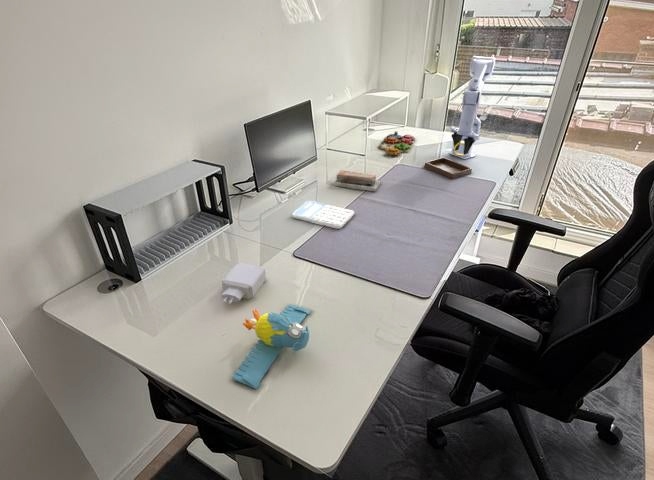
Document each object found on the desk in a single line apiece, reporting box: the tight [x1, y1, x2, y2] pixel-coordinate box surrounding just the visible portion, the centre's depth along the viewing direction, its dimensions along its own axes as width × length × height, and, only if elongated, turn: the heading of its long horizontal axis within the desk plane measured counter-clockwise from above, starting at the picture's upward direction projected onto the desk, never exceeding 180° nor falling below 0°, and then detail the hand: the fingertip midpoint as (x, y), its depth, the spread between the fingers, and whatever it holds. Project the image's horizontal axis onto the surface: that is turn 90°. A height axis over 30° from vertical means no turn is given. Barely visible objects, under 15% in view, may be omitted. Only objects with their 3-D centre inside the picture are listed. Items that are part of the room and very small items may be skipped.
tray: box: [424, 156, 473, 180], centre depth 192 cm, size 17×12×2 cm
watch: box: [454, 141, 466, 156], centre depth 186 cm, size 6×3×6 cm, turn 76°
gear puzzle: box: [378, 130, 416, 156], centre depth 217 cm, size 31×16×4 cm, turn 160°
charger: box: [220, 262, 267, 304], centre depth 117 cm, size 5×9×15 cm
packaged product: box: [334, 170, 381, 193], centre depth 178 cm, size 18×5×10 cm
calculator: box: [291, 200, 355, 230], centre depth 155 cm, size 13×20×2 cm, turn 62°
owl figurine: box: [232, 304, 311, 390], centre depth 99 cm, size 28×9×15 cm
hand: (460, 151), depth 187 cm, fingers closed on watch, 5 cm apart
